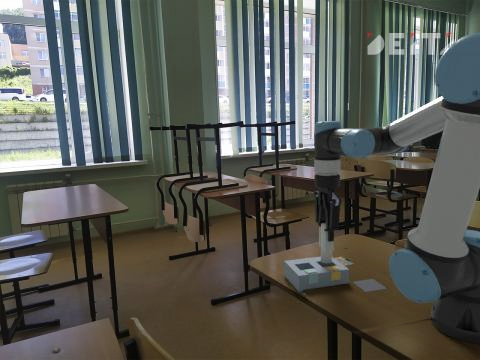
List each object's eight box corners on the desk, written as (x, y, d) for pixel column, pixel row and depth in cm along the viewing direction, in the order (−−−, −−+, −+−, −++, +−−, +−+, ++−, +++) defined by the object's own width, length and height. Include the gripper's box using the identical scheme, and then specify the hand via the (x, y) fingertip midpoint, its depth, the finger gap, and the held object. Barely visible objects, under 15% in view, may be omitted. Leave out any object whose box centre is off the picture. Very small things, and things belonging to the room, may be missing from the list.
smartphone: (304, 265, 130) (304, 262, 130) (341, 259, 135) (341, 255, 135) (315, 274, 123) (315, 270, 122) (355, 267, 127) (355, 264, 127)
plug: (333, 262, 116) (334, 225, 114) (323, 264, 115) (324, 226, 113) (328, 258, 119) (329, 222, 117) (318, 260, 118) (319, 223, 116)
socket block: (349, 285, 113) (349, 268, 112) (299, 292, 109) (299, 275, 108) (329, 269, 125) (330, 254, 124) (284, 275, 121) (284, 260, 120)
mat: (386, 290, 109) (387, 288, 109) (365, 293, 107) (365, 291, 107) (372, 280, 116) (372, 278, 116) (352, 283, 114) (352, 281, 114)
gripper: (353, 176, 106) (351, 256, 110) (326, 169, 121) (325, 239, 125) (328, 178, 104) (327, 259, 108) (304, 170, 119) (304, 241, 123)
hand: (326, 248), depth 116 cm, fingers closed on plug, 3 cm apart
